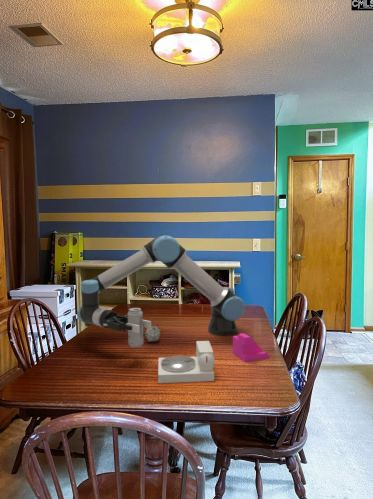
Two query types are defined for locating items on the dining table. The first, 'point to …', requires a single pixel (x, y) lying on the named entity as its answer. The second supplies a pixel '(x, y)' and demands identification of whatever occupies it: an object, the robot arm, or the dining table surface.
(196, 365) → the scale
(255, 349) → the bracket
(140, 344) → the energy drink can
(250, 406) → the dining table surface
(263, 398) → the dining table surface
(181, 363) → the scale pan
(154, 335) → the grey rounded lump
